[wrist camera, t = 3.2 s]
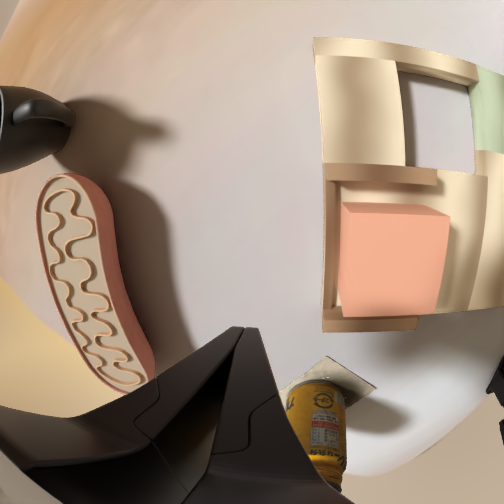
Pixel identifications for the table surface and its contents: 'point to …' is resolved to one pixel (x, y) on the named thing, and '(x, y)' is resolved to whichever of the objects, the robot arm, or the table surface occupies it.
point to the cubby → (344, 172)
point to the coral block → (390, 258)
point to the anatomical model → (91, 281)
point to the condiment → (324, 414)
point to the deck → (393, 153)
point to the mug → (30, 126)
